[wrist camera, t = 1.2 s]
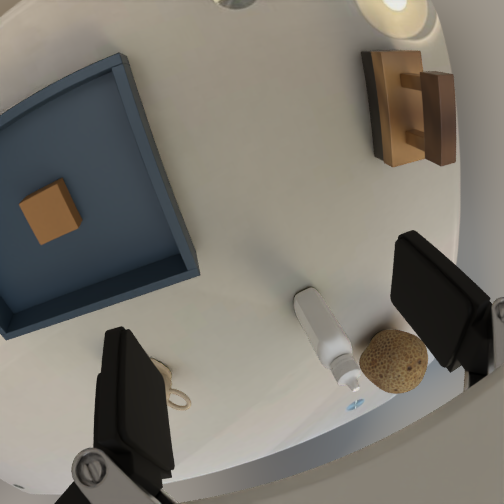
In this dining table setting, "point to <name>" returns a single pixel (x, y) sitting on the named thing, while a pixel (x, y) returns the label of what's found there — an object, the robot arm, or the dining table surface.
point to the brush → (410, 108)
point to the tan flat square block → (51, 211)
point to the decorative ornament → (168, 383)
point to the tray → (86, 201)
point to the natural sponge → (395, 361)
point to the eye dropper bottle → (327, 337)
